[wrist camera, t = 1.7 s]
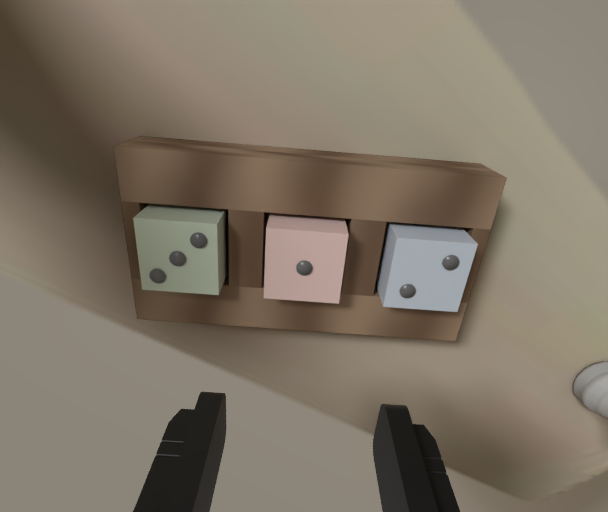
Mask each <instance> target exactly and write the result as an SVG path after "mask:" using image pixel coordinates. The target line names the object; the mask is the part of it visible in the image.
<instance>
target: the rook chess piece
mask: <svg viewBox="0 0 608 512" xmlns="http://www.w3.org/2000/svg"><path fill="white" fill-rule="evenodd" d="M574 395H575V396H576V397H577V398H578V399H579V400H581V401H582V403H583V404H584V405H585V407H586V408H588V409H589V410H590V411H593V412H595V413H597V414H600V416H602V417H605V418H607V419H608V362H606V361H602V362H598V363H594V364H591V365H589V366H587V367H586V368H584V369H583V370H582V371H581V372H580V373H579V374H578V375H577V376H576V378H575V381H574Z"/></svg>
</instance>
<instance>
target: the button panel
mask: <svg viewBox="0 0 608 512" xmlns="http://www.w3.org/2000/svg"><path fill="white" fill-rule="evenodd" d="M113 148H114V155H115V162H116V169H117V176H118V184H119V191H120V198H121V205H122V213H123V220H124V227H125V234H126V242H127V249H128V256H129V263H130V271H131V278H132V285H133V292H134V299H135V307H136V314H137V319H145V320H159V321H173V322H188V323H202V324H217V325H231V326H246V327H260V328H274V329H289V330H303V331H318V332H332V333H347V334H361V335H375V336H390V337H404V338H419V339H433V340H448V341H456V338H457V335H458V332H459V328H460V325H461V322H462V319H463V316H464V313H465V309H466V306H467V303H468V300H469V297H470V293H471V290H472V287H473V284H474V281H475V278H476V274H477V271H478V268H479V265H480V262H481V258H482V255H483V252H484V249H485V246H486V243H487V239H488V236H489V233H490V230H491V227H492V223H493V220H494V217H495V214H496V211H497V208H498V204H499V201H500V198H501V195H502V192H503V188H504V185H505V182H506V179H507V178H506V177H504V176H502V175H501V174H499V173H497V172H495V171H493V170H491V169H489V168H487V167H486V166H484V165H482V164H478V163H466V162H453V161H441V160H429V159H416V158H404V157H392V156H379V155H367V154H355V153H342V152H330V151H318V150H305V149H293V148H281V147H268V146H256V145H244V144H231V143H219V142H207V141H194V140H182V139H170V138H157V137H145V136H139V137H136V138H134V139H131V140H128V141H126V142H123V143H121V144H118V145H115V146H113ZM149 204H162V205H175V206H188V207H201V208H214V209H226V260H227V276H226V278H225V281H224V283H223V286H222V288H221V291H220V293H219V295H211V294H197V293H182V292H168V291H154V290H142V284H141V276H140V268H139V260H138V253H137V245H136V237H135V229H134V221H133V218H134V217H135V216H136V215H137V214H138V213H140V212H141V211H142V210H143V209H144V208H145V207H147V206H148V205H149ZM270 213H279V214H293V215H306V216H319V217H332V218H345V222H346V226H347V230H348V234H349V235H348V242H347V249H346V256H345V264H344V271H343V278H342V285H341V292H340V299H339V304H337V303H323V302H309V301H295V300H281V299H267V298H264V273H265V246H266V227H267V223H268V219H269V215H270ZM388 222H397V223H410V224H423V225H436V226H449V227H462V228H463V229H464V230H465V231H466V232H467V233H468V234H469V235H470V236H471V237H472V238H473V239H474V240H475V241H476V242H477V243H478V246H477V249H476V252H475V255H474V259H473V262H472V265H471V269H470V272H469V275H468V278H467V282H466V285H465V288H464V292H463V295H462V298H461V301H460V305H459V308H458V311H457V312H449V311H435V310H421V309H407V308H393V307H383V305H382V302H381V299H380V295H379V292H378V289H377V281H378V275H379V270H380V264H381V259H382V254H383V248H384V243H385V238H386V232H387V227H388Z"/></svg>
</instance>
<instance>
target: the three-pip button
mask: <svg viewBox="0 0 608 512" xmlns="http://www.w3.org/2000/svg"><path fill="white" fill-rule="evenodd" d="M133 221H134V229H135V237H136V245H137V253H138V260H139V268H140V276H141V284H142V290H154V291H168V292H182V293H197V294H211V295H219V293H220V291H221V288H222V286H223V283H224V281H225V278H226V276H227V260H226V209H214V208H201V207H188V206H175V205H162V204H149V205H148V206H147V207H145V208H144V209H143V210H142V211H141V212H140V213H138V214H137V215H136V216H135V217H134V218H133Z"/></svg>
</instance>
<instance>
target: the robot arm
mask: <svg viewBox="0 0 608 512" xmlns="http://www.w3.org/2000/svg"><path fill="white" fill-rule="evenodd" d="M225 436H226V396H225V393H212V392H201V393H200V395H199V398H198V401H197V404H196V407H195V410H191V409H181V410H180V411H179V412H178V413H177V414H176V415H175V416H174V417H173V419H172V420H171V421H170V422H169V423H168V426H167V428H166V431H165V433H164V436H163V438H162V442H161V443H160V446H159V448H158V451H157V455H156V457H155V458H154V461H153V463H152V466H151V469H150V471H149V474H148V476H147V479H146V481H145V484H144V486H143V489H142V491H141V494H140V496H139V499H138V501H137V504H136V506H135V509H134V511H133V512H209V511H210V507H211V502H212V498H213V493H214V488H215V484H216V480H217V475H218V471H219V466H220V462H221V458H222V453H223V449H224V443H225ZM373 455H374V462H375V468H376V474H377V480H378V485H379V492H380V497H381V504H382V510H383V512H460V510H459V507H458V505H457V501H456V498H455V496H454V493H453V490H452V487H451V484H450V481H449V478H448V476H447V475H446V469H445V467H444V464H443V461H442V460H441V455H440V452H439V449H438V446H437V443H436V440H435V439H434V438H433V436H432V435H431V434H430V432H429V431H428V430H427V429H426V427H425V426H424V425H417V424H412V421H411V417H410V414H409V411H408V408H407V406H404V405H389V404H382V405H381V407H380V412H379V416H378V420H377V425H376V429H375V433H374V439H373Z"/></svg>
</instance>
